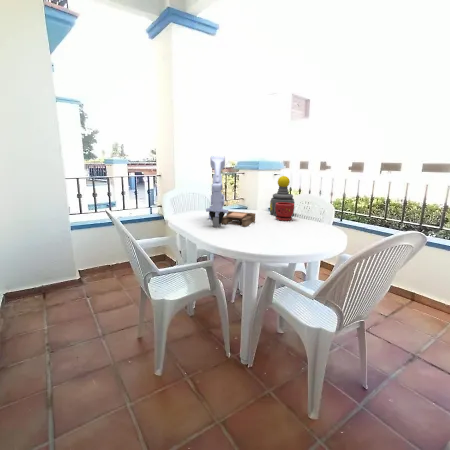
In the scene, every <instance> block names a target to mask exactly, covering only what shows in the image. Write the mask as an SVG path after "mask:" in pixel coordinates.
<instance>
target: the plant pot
mask: <svg viewBox="0 0 450 450" xmlns="http://www.w3.org/2000/svg"><path fill="white" fill-rule="evenodd" d="M286 208H287V210H286ZM275 209H276V214H277V216H275V219H276V220H278V221H282V222H285V221H286V222H288V221H291V220H292V219H293V217H292V216H293V215H294V213H293V211H294V212H295V203H294V204H293V203H285V202H278V203H276V207H275ZM283 209H284V210H283ZM289 210H290V211H289ZM292 214H293V215H292Z"/></svg>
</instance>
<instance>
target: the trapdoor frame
mask: <svg viewBox="0 0 450 450" xmlns="http://www.w3.org/2000/svg"><path fill="white" fill-rule="evenodd" d="M231 213H244V214H247V216H245V217H244V218H234V217H228V215H229V214H231ZM231 222H241V227H243V228H244V227H246V228H247V227H248V226H249V225H251V224H252V223H253V224H255V223H256V213H255V212H254V213H253V212H245V211H242V212H241V211H233V210H232V211H231V210H228V213H226V215H224V216H223V219H222V223H221V225H225V226H226V225H228V224H230V223H231Z"/></svg>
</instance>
